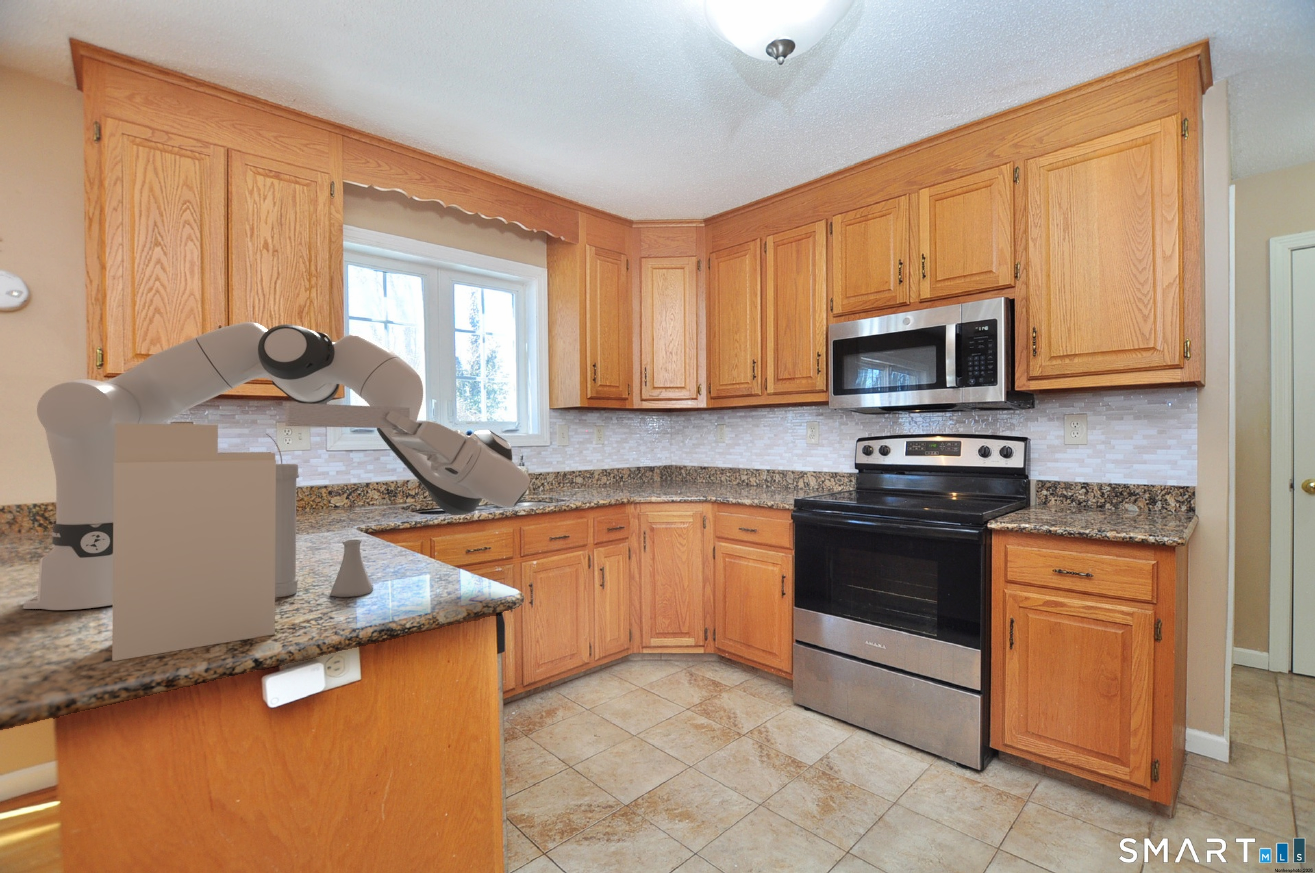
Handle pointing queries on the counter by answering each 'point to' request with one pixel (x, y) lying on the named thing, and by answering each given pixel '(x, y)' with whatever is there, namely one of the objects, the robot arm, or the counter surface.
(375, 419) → the bar
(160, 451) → the stepped beige panel
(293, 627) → the counter surface
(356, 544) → the flask
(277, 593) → the pipe
